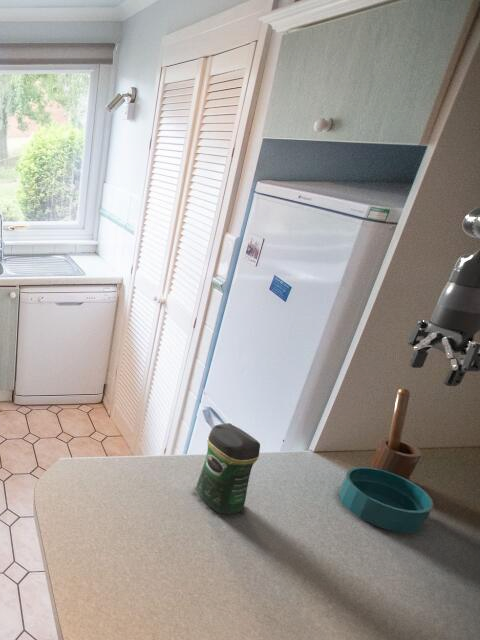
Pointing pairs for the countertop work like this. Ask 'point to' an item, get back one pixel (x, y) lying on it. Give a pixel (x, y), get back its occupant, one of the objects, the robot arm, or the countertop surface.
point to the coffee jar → (227, 468)
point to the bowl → (385, 499)
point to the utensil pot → (396, 458)
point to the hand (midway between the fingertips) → (432, 375)
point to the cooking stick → (398, 419)
